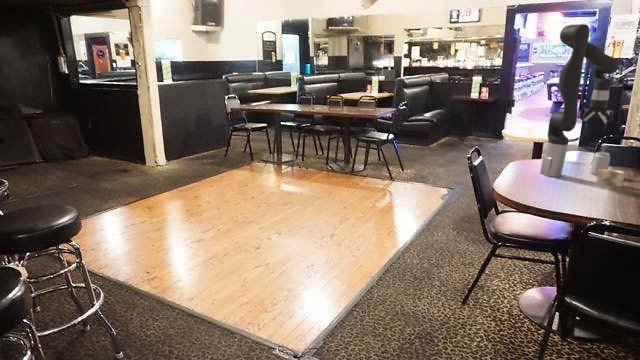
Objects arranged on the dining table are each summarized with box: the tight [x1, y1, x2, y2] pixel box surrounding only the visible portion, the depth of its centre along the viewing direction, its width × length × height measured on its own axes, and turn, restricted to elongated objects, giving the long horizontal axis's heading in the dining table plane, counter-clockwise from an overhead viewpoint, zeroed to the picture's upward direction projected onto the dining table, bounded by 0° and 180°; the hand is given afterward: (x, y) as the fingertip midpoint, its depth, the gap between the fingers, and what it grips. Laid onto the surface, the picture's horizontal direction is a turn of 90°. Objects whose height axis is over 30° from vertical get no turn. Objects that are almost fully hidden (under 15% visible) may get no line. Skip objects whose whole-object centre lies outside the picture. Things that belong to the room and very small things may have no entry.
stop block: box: [595, 169, 626, 187], centre depth 207 cm, size 10×4×7 cm, turn 71°
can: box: [589, 151, 611, 177], centre depth 224 cm, size 8×8×12 cm
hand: (593, 128), depth 226 cm, fingers open, 8 cm apart
